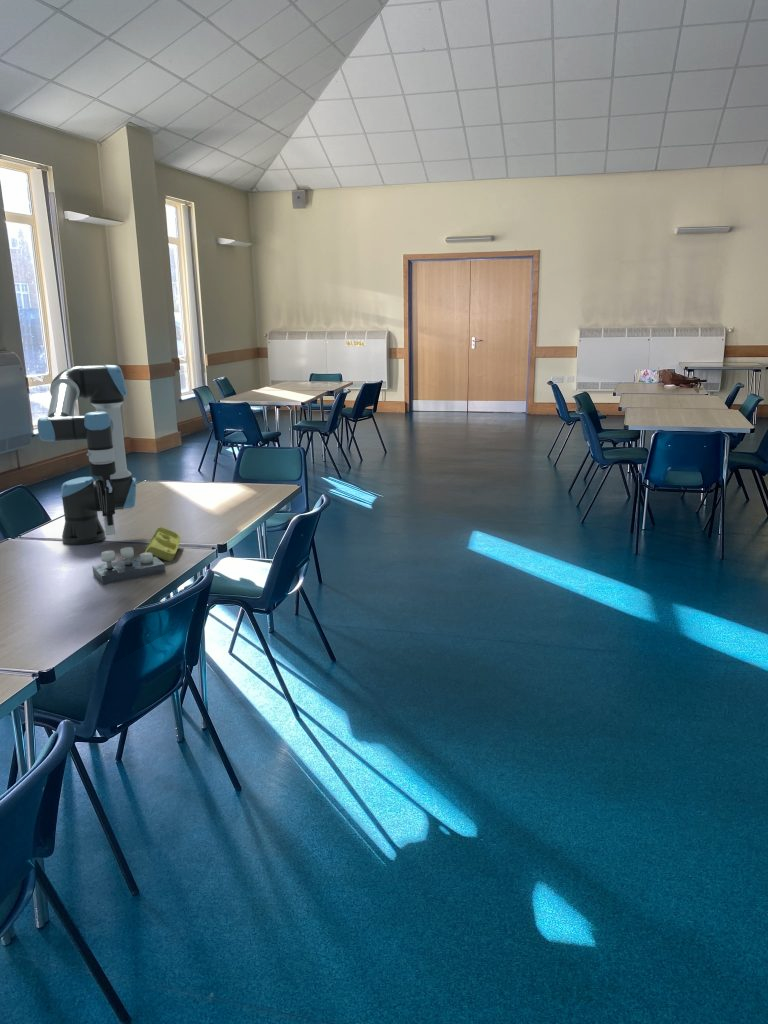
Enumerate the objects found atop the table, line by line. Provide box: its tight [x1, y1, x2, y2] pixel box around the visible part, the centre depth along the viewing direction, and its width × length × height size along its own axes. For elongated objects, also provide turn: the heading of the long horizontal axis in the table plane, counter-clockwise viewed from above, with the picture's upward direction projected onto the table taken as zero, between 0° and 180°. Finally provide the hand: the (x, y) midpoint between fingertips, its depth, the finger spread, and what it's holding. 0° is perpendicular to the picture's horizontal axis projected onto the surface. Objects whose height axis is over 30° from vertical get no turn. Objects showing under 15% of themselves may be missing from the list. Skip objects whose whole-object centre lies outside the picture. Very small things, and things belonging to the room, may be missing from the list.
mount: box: [92, 555, 166, 586], centre depth 247 cm, size 12×20×3 cm, turn 124°
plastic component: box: [143, 526, 181, 562], centre depth 267 cm, size 20×7×10 cm
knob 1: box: [100, 550, 116, 569], centre depth 243 cm, size 4×4×5 cm
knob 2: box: [139, 552, 153, 563], centre depth 250 cm, size 4×4×5 cm
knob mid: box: [119, 546, 135, 565], centre depth 246 cm, size 4×4×5 cm
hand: (110, 534), depth 241 cm, fingers closed
